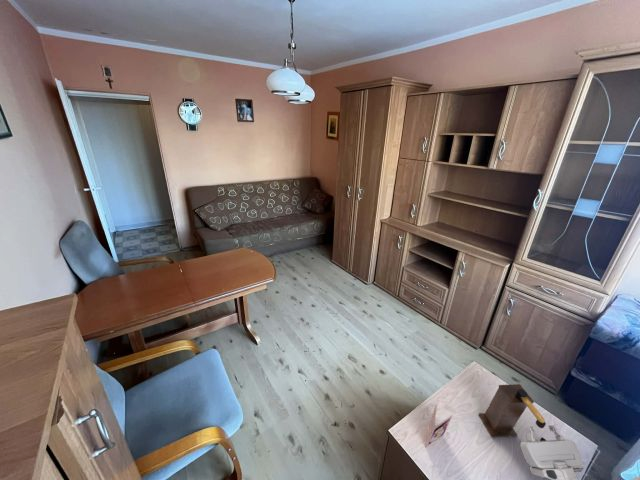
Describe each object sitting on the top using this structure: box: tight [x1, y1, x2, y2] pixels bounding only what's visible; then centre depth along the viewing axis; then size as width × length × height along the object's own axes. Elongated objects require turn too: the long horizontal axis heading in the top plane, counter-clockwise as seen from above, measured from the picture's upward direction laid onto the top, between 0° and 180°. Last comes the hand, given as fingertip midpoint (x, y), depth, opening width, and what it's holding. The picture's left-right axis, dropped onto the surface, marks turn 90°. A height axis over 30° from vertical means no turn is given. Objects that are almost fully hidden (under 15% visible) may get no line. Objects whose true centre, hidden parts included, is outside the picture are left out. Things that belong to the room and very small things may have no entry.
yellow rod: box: [516, 388, 547, 429], centre depth 106 cm, size 13×3×4 cm, turn 4°
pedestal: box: [478, 383, 535, 439], centre depth 119 cm, size 10×12×24 cm
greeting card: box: [424, 403, 453, 448], centre depth 115 cm, size 11×7×15 cm, turn 117°
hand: (540, 426), depth 102 cm, fingers open, 8 cm apart
